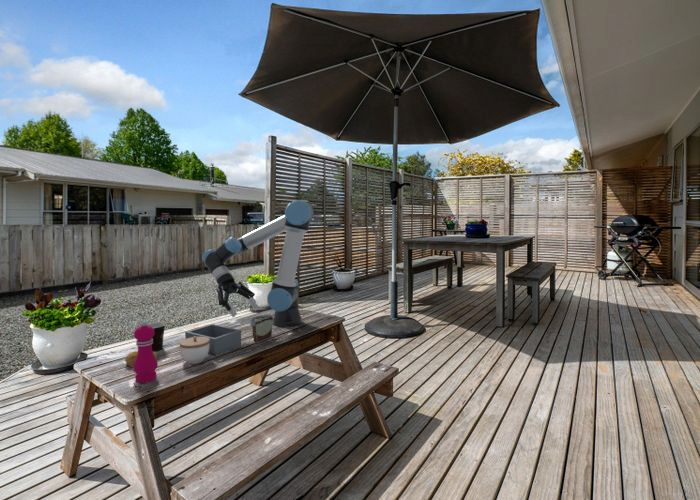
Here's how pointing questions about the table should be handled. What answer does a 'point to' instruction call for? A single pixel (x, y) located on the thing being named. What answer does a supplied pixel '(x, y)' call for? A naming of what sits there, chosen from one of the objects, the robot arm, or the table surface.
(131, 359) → the bagel
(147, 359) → the pepper mill
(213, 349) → the charcoal bin
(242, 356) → the table surface
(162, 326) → the coffee mug
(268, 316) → the food container
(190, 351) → the lidded jar
